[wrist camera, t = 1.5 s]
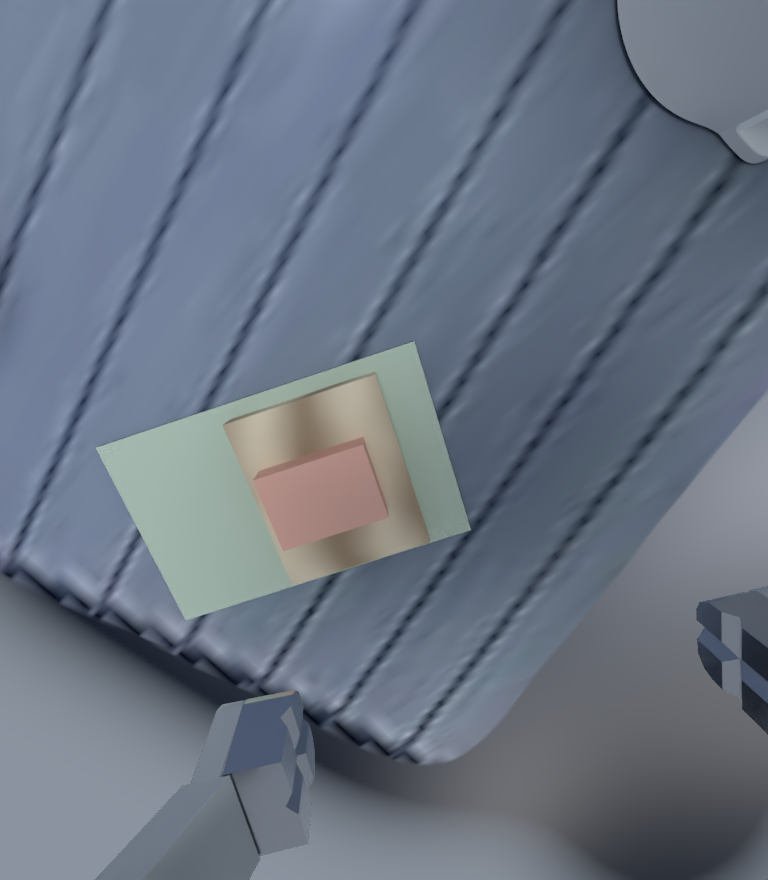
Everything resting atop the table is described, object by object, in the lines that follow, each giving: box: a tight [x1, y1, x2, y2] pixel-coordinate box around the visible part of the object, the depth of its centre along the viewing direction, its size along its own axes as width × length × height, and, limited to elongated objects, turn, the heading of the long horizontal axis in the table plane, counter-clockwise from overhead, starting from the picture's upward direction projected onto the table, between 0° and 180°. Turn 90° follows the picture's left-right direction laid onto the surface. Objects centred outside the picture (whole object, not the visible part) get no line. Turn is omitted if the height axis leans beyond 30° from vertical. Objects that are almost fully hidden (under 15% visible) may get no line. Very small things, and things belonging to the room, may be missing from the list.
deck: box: [223, 371, 431, 586], centre depth 31 cm, size 10×12×2 cm
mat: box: [96, 341, 471, 620], centre depth 32 cm, size 22×14×1 cm, turn 108°
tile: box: [253, 437, 389, 551], centre depth 29 cm, size 7×5×2 cm
